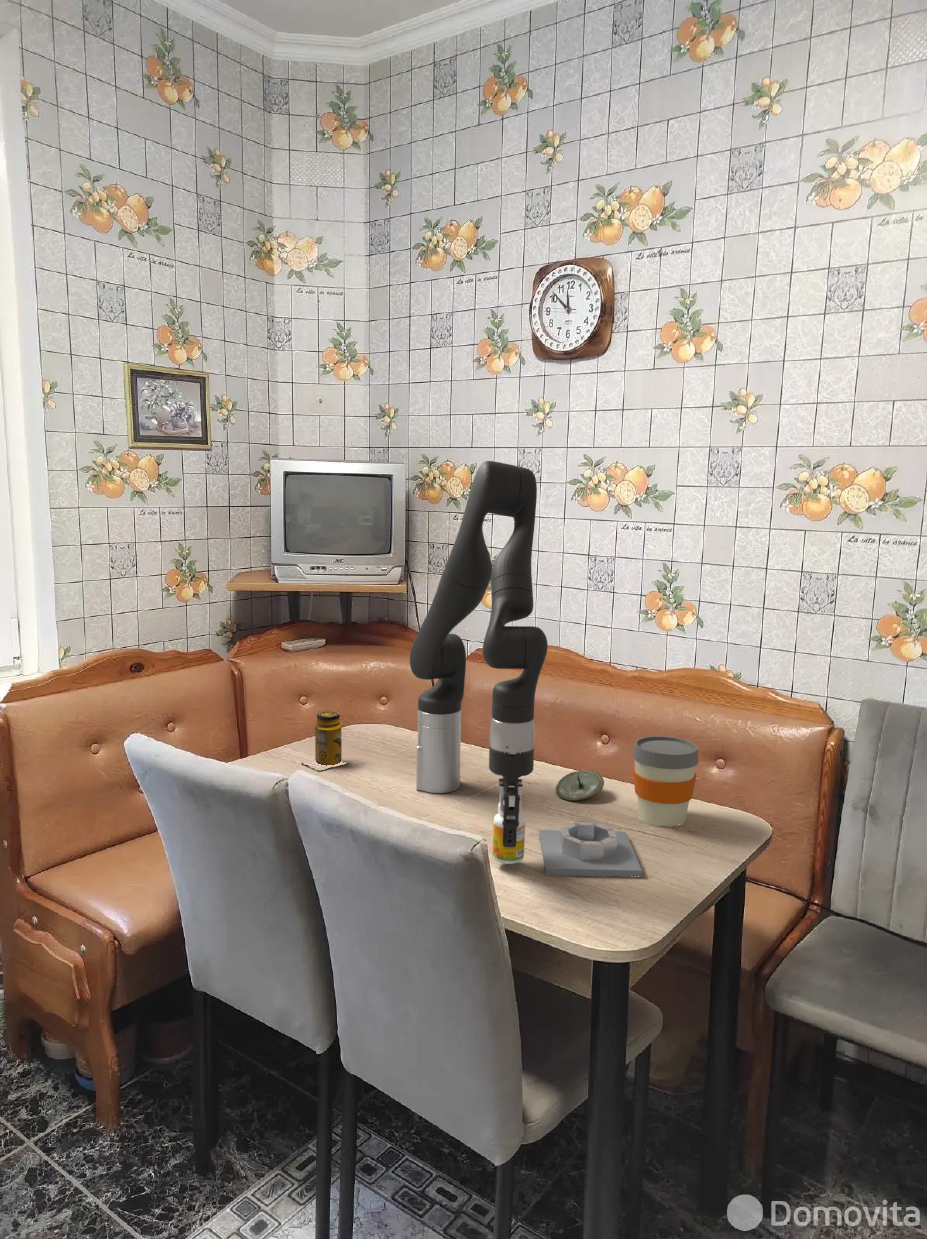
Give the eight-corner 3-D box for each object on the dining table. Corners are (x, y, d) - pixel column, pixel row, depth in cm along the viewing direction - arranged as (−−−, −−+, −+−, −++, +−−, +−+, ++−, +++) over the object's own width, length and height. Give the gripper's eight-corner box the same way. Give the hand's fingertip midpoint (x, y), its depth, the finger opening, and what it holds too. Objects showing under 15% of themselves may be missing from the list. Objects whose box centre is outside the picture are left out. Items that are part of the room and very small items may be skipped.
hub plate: (546, 875, 141) (546, 868, 141) (539, 835, 157) (539, 829, 157) (641, 877, 141) (642, 870, 141) (625, 837, 157) (625, 831, 156)
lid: (613, 796, 178) (614, 774, 177) (582, 807, 171) (583, 784, 170) (576, 783, 185) (577, 761, 185) (545, 792, 179) (545, 770, 178)
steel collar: (563, 860, 144) (564, 843, 144) (558, 837, 153) (559, 821, 153) (619, 861, 144) (620, 844, 143) (610, 838, 153) (611, 822, 153)
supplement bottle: (490, 850, 147) (492, 798, 145) (521, 850, 147) (523, 797, 145) (494, 865, 141) (496, 810, 140) (526, 864, 142) (528, 809, 140)
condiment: (349, 764, 195) (349, 714, 194) (318, 772, 190) (318, 720, 188) (331, 756, 201) (330, 707, 199) (300, 764, 195) (300, 714, 193)
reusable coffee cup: (617, 811, 170) (620, 739, 167) (668, 802, 175) (672, 732, 172) (654, 834, 158) (658, 758, 156) (708, 825, 163) (713, 750, 161)
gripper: (489, 730, 148) (486, 821, 151) (489, 757, 134) (487, 856, 137) (531, 731, 148) (528, 822, 151) (537, 758, 134) (533, 858, 136)
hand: (508, 838), depth 144 cm, fingers closed on supplement bottle, 5 cm apart
